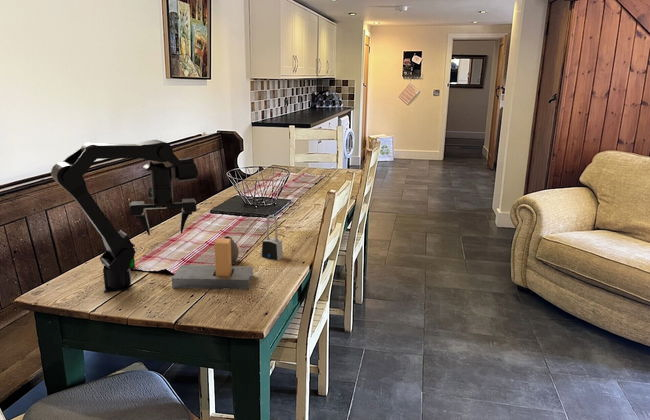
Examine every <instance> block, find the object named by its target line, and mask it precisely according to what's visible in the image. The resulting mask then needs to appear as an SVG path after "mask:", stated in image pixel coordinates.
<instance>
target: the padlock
mask: <svg viewBox="0 0 650 420" xmlns="http://www.w3.org/2000/svg"><path fill="white" fill-rule="evenodd" d="M270 218H273V219H274V223H275V224H274V225H275V232H274V233H275V237H274V238H273V237H270V236H269V235H270ZM261 244H262V245H261V255H260V257H261V258H263V259H267V260H271V261H272V260H273V261H280V260H281V259H283V258H284V253H283V252H284V251H283V240H280V239H278V219H277V217H276V216H274V215H273V214H270V215H268V216H267V217H266V238H265V239H263V240H261Z"/></svg>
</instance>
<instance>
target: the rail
mask: <svg viewBox="0 0 650 420" xmlns="http://www.w3.org/2000/svg"><path fill="white" fill-rule="evenodd" d="M231 266H232V276H216V270H215V265H211V264H210V265H209V264H207V265H204V264H203V265H202V264H201V265H200V264H197V265H196V264H180V266H179V267H178V269H177V270H176V271H175V273H174V274H173V276H172V277H171V288H172V289H204V290H205V289H211V290H249V289H250V285H251V282H252V280H253V276H254V266H251V265H250V266H248V265H245V266H244V265H243V266H242V265H231Z"/></svg>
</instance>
